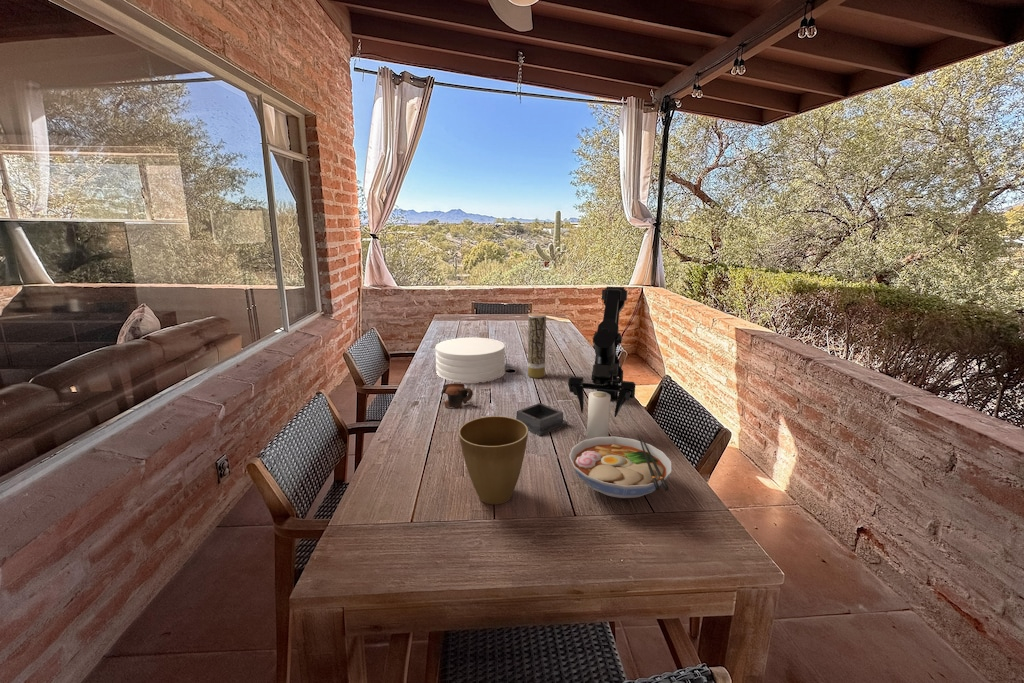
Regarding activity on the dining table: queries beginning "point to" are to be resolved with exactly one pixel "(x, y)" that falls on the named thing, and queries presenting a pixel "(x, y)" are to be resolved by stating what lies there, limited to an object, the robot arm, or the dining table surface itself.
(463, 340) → the plate stack
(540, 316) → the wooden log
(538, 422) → the holder
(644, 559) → the dining table surface
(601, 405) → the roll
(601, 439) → the ramen bowl
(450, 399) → the pottery mug
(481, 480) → the plant pot
